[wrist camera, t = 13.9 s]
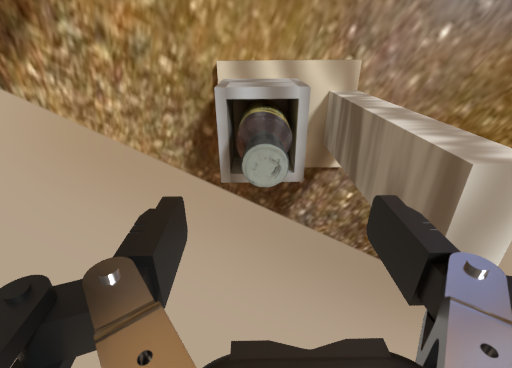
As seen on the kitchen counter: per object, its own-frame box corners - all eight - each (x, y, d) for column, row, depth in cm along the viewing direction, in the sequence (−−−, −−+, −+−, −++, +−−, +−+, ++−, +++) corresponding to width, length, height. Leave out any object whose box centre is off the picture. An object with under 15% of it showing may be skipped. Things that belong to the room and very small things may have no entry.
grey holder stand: (224, 164, 45) (185, 325, 19) (217, 60, 38) (138, 82, 12) (342, 163, 45) (468, 321, 19) (357, 59, 38) (596, 78, 12)
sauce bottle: (291, 123, 40) (321, 179, 23) (258, 146, 42) (262, 216, 24) (266, 86, 38) (278, 117, 20) (232, 112, 40) (215, 162, 22)
